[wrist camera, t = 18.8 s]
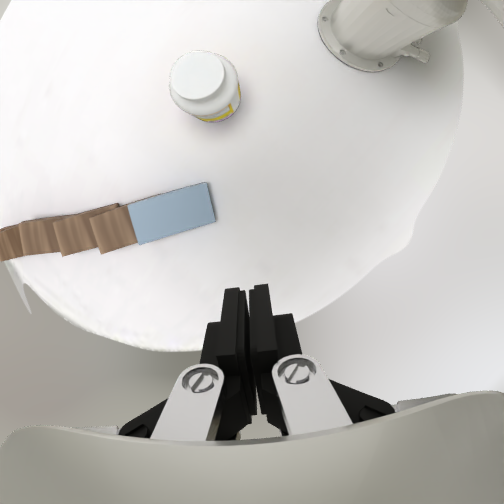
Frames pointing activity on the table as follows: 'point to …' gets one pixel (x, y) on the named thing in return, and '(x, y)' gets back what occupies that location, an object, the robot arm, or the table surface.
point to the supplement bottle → (205, 86)
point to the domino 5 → (171, 213)
